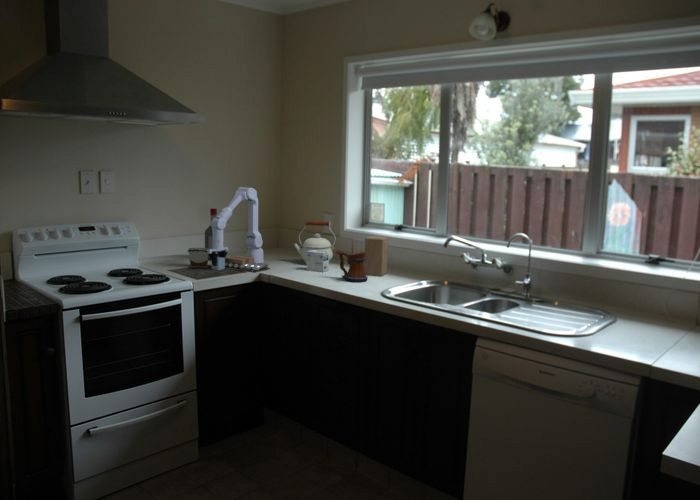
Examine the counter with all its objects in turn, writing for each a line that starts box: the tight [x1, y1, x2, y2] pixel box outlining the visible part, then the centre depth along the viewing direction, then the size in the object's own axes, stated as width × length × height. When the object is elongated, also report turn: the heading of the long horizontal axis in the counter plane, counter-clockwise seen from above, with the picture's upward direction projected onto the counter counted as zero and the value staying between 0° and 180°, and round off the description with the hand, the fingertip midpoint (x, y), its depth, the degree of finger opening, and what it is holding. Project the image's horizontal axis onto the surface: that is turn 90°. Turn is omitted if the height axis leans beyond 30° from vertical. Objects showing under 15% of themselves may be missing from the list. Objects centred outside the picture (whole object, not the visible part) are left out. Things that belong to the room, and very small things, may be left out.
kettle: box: [293, 220, 337, 265], centre depth 342 cm, size 25×18×25 cm
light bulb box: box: [306, 250, 330, 273], centre depth 322 cm, size 11×7×11 cm, turn 65°
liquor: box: [204, 207, 219, 261], centre depth 347 cm, size 9×9×30 cm
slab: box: [225, 255, 254, 265], centre depth 324 cm, size 10×12×2 cm
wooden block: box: [364, 235, 389, 277], centre depth 314 cm, size 10×10×20 cm
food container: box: [187, 247, 209, 268], centre depth 326 cm, size 12×6×10 cm, turn 84°
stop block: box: [210, 257, 226, 271], centre depth 319 cm, size 5×5×6 cm
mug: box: [336, 249, 369, 283], centre depth 299 cm, size 18×12×15 cm, turn 57°
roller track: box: [225, 262, 271, 274], centre depth 323 cm, size 13×24×3 cm, turn 61°
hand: (217, 265), depth 320 cm, fingers closed on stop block, 5 cm apart
